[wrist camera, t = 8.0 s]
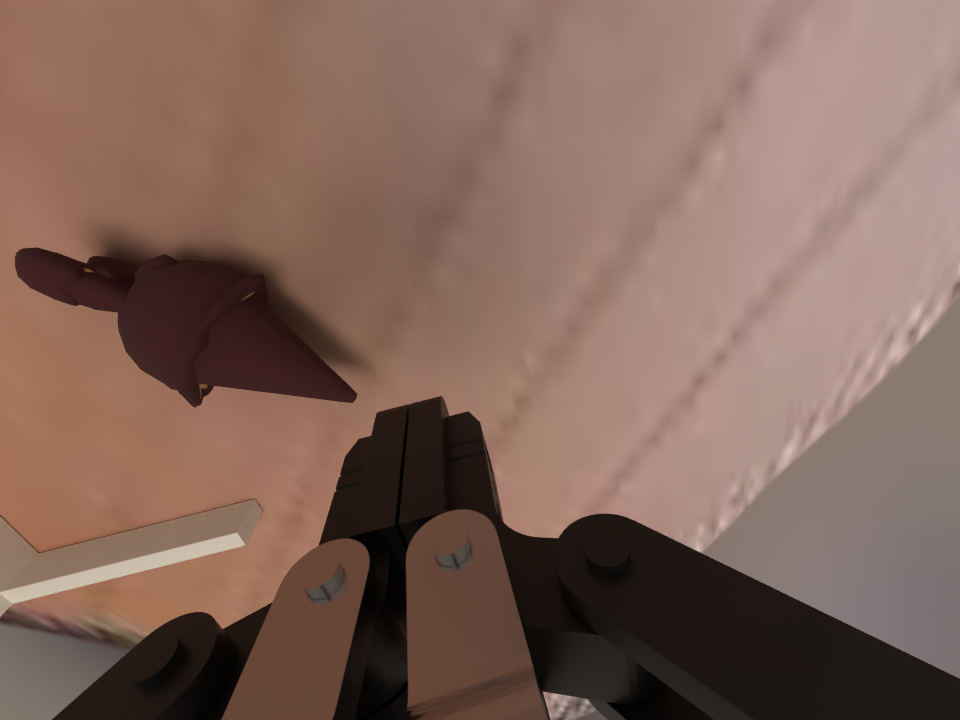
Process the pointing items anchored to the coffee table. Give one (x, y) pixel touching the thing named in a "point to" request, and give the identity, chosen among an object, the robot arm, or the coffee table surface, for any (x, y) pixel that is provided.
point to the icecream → (190, 323)
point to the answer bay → (118, 552)
